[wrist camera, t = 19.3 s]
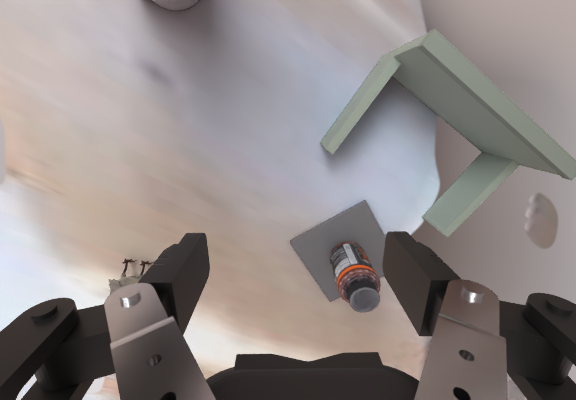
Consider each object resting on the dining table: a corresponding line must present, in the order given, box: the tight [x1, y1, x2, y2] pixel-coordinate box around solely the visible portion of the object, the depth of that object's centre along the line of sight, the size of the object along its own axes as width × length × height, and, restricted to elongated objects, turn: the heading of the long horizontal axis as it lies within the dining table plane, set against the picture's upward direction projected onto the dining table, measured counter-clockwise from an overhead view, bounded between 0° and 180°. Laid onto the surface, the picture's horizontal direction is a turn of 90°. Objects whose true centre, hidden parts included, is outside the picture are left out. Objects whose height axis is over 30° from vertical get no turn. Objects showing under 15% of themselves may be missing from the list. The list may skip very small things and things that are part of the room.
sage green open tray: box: [320, 29, 576, 237], centre depth 34 cm, size 14×22×13 cm, turn 55°
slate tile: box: [290, 200, 386, 302], centre depth 46 cm, size 14×14×1 cm
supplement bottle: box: [330, 241, 380, 312], centre depth 40 cm, size 6×6×11 cm
